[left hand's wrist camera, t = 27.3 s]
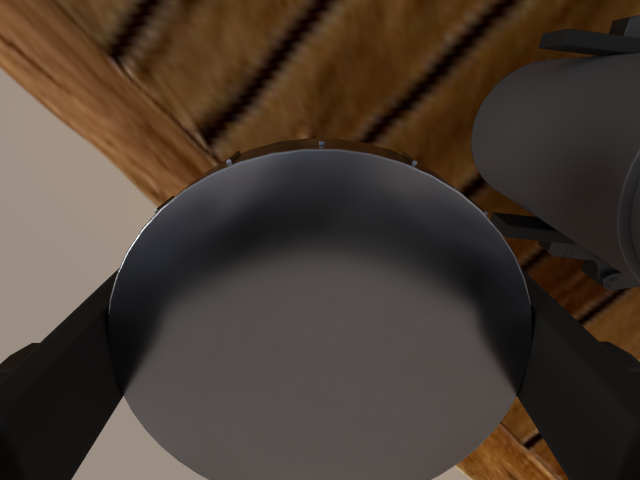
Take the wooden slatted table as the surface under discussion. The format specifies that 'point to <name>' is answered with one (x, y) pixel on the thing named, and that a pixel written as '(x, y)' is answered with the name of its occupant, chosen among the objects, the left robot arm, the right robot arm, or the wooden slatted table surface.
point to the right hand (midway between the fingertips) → (523, 139)
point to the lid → (320, 318)
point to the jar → (570, 150)
